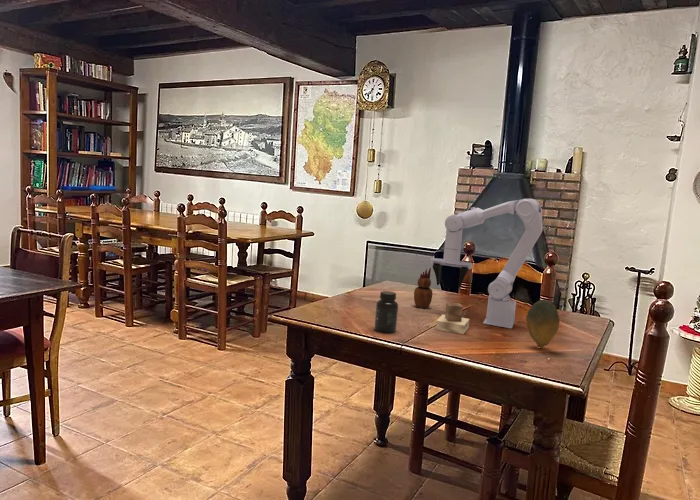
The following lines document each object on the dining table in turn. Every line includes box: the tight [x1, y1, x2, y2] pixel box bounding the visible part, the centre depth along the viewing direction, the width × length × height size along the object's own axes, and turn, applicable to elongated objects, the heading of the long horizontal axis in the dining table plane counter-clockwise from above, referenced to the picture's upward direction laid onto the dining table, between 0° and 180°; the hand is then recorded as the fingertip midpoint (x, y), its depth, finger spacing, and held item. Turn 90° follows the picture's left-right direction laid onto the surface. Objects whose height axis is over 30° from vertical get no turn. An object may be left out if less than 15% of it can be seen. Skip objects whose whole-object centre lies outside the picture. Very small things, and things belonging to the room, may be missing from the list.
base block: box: [435, 314, 470, 335], centre depth 171 cm, size 9×9×3 cm
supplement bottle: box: [374, 290, 399, 334], centre depth 164 cm, size 7×7×12 cm
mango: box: [525, 299, 561, 349], centre depth 156 cm, size 10×6×15 cm, turn 48°
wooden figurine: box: [413, 267, 433, 309], centre depth 197 cm, size 7×6×15 cm
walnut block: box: [444, 302, 464, 322], centre depth 171 cm, size 4×4×5 cm
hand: (448, 286), depth 189 cm, fingers open, 7 cm apart
